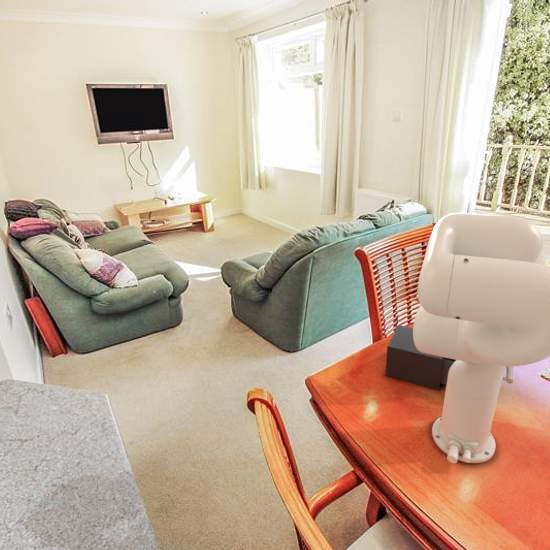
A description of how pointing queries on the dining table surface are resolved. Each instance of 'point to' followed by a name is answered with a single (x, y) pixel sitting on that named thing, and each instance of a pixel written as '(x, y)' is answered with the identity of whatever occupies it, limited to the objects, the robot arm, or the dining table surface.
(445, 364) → the basket
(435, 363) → the dark grey box
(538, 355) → the robot arm
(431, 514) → the dining table surface
